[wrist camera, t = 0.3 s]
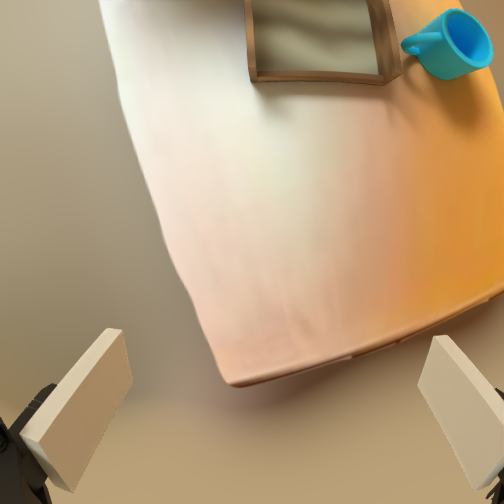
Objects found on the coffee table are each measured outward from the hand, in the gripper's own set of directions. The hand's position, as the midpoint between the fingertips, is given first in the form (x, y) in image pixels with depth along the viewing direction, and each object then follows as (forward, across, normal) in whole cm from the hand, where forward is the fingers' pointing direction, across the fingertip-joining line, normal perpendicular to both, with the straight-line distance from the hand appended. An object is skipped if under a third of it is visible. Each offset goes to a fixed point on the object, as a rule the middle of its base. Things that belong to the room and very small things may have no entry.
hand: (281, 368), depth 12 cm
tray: (+27, +5, +26) cm, 38 cm away
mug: (+28, +21, +26) cm, 43 cm away
